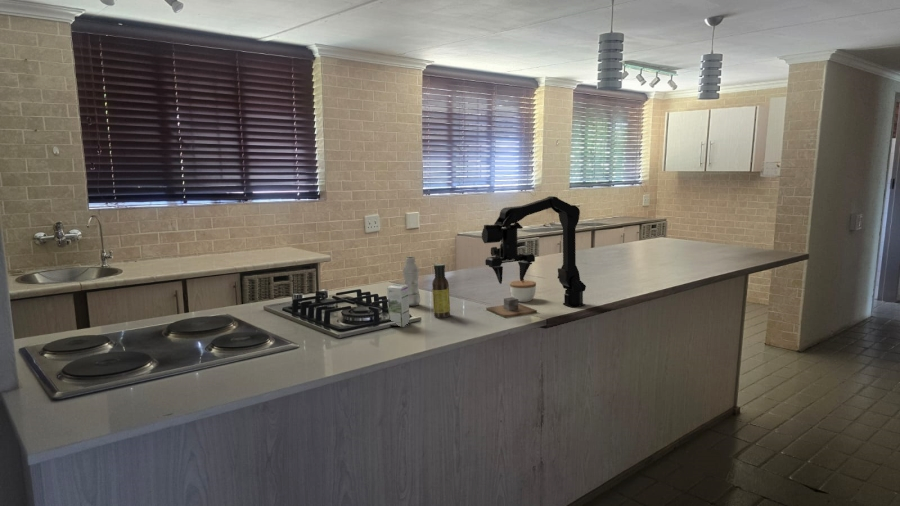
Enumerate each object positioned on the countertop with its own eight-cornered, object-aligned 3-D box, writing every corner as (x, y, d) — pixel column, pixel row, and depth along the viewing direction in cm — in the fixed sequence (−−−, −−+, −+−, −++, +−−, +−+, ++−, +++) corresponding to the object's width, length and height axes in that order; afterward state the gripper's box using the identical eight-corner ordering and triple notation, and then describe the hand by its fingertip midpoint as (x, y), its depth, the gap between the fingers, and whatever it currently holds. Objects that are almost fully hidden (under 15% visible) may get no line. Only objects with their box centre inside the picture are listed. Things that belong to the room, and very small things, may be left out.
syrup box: (410, 323, 209) (408, 284, 207) (402, 327, 204) (400, 287, 202) (396, 322, 212) (395, 283, 210) (388, 326, 207) (386, 286, 204)
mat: (518, 305, 231) (518, 304, 231) (540, 314, 216) (540, 313, 216) (482, 311, 224) (482, 310, 224) (503, 320, 210) (503, 319, 210)
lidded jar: (535, 298, 243) (535, 276, 242) (536, 304, 233) (536, 281, 231) (510, 298, 244) (509, 276, 243) (510, 304, 234) (509, 281, 232)
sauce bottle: (453, 316, 217) (451, 264, 214) (439, 319, 214) (437, 266, 211) (444, 313, 222) (442, 262, 220) (430, 316, 219) (428, 264, 216)
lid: (517, 305, 229) (517, 293, 229) (536, 312, 217) (536, 299, 216) (486, 310, 224) (486, 297, 223) (504, 318, 211) (504, 304, 210)
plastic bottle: (418, 307, 234) (416, 258, 231) (402, 307, 235) (400, 258, 232) (422, 303, 240) (420, 256, 237) (406, 303, 241) (404, 256, 239)
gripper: (519, 237, 227) (520, 276, 229) (477, 241, 219) (479, 281, 222) (535, 239, 217) (536, 280, 220) (492, 244, 209) (493, 286, 212)
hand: (510, 282), depth 218 cm, fingers open, 9 cm apart
